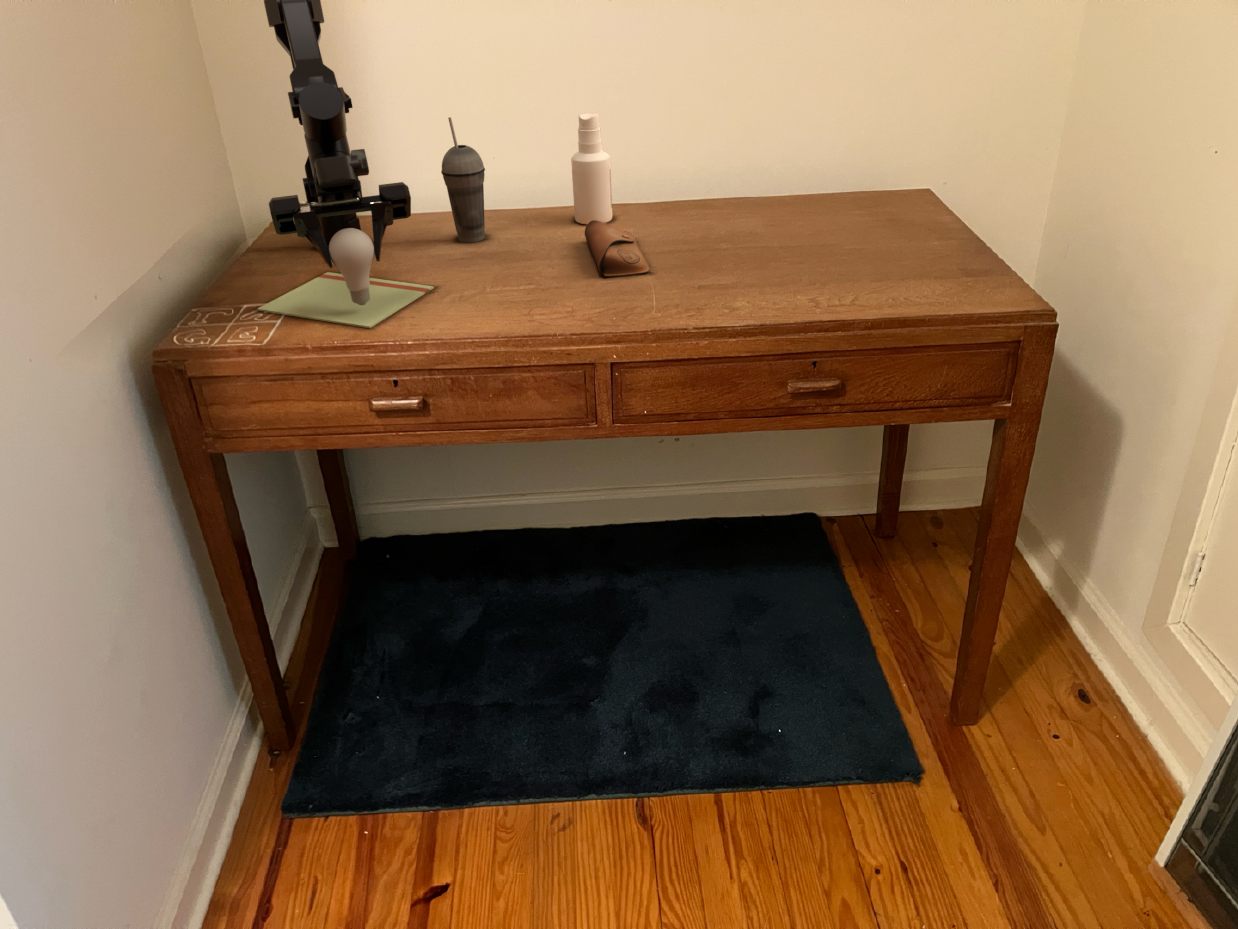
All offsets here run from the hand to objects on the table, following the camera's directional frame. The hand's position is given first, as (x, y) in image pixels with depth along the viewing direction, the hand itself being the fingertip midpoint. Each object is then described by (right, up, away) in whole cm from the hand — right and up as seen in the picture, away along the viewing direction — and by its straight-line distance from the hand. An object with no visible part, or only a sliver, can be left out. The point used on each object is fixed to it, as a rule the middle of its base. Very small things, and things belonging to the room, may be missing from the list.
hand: (354, 263), depth 126 cm
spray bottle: (+32, +16, +40) cm, 53 cm away
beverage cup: (+11, +11, +33) cm, 37 cm away
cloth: (-4, -3, +10) cm, 12 cm away
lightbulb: (0, -5, +5) cm, 7 cm away
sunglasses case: (+36, +6, +22) cm, 43 cm away
